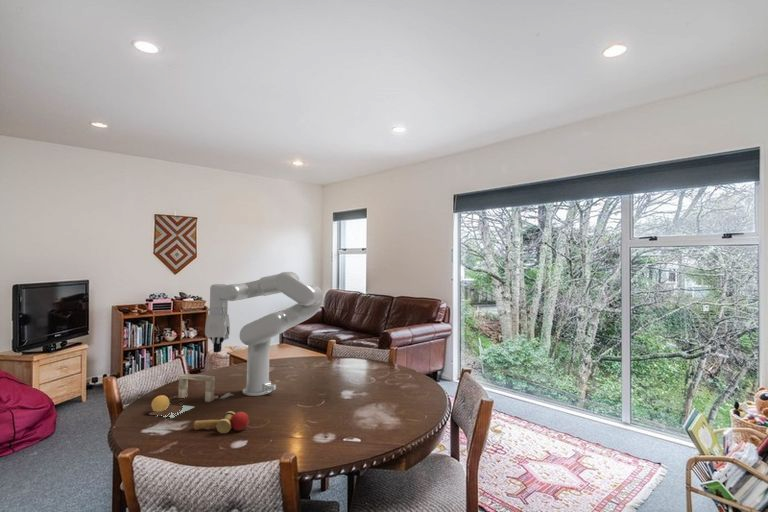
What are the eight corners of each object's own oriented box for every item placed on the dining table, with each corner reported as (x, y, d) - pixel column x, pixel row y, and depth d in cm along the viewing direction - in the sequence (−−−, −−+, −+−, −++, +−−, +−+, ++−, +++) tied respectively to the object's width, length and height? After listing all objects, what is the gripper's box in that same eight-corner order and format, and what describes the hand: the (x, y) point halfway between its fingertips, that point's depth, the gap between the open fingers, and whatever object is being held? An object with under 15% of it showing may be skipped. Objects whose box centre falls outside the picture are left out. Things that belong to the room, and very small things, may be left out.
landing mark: (194, 407, 155) (194, 406, 155) (171, 418, 143) (171, 417, 143) (169, 404, 158) (169, 403, 158) (144, 414, 146) (144, 414, 146)
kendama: (190, 439, 129) (244, 431, 130) (189, 419, 131) (243, 411, 131) (200, 433, 137) (252, 426, 138) (200, 414, 138) (251, 407, 139)
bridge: (183, 396, 167) (184, 373, 167) (213, 399, 164) (214, 376, 164) (178, 398, 164) (178, 375, 165) (209, 402, 161) (209, 378, 161)
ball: (155, 410, 145) (166, 415, 149) (165, 395, 148) (175, 400, 152) (144, 406, 147) (155, 411, 151) (154, 391, 150) (165, 396, 155)
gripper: (198, 311, 176) (197, 352, 175) (227, 312, 172) (226, 354, 172) (209, 309, 183) (208, 349, 183) (237, 311, 180) (236, 351, 179)
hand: (217, 351), depth 177 cm, fingers closed
